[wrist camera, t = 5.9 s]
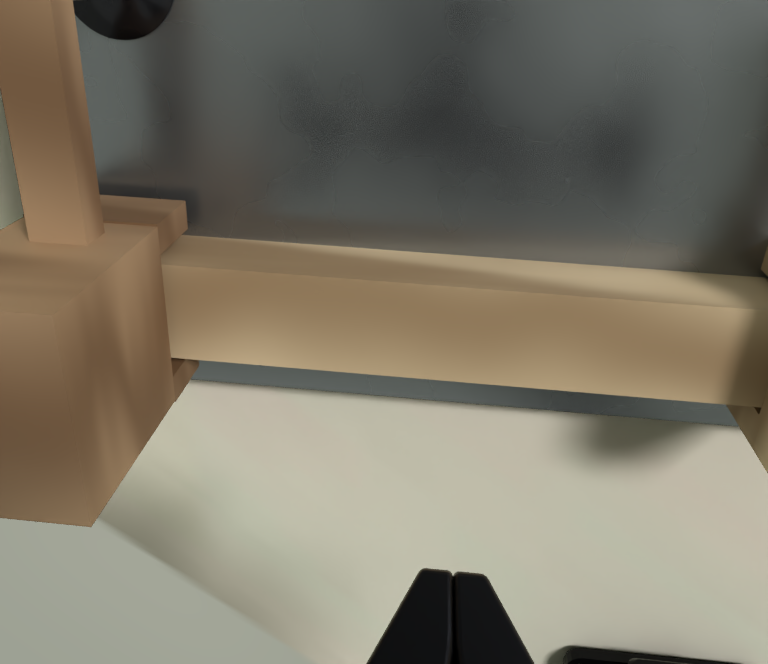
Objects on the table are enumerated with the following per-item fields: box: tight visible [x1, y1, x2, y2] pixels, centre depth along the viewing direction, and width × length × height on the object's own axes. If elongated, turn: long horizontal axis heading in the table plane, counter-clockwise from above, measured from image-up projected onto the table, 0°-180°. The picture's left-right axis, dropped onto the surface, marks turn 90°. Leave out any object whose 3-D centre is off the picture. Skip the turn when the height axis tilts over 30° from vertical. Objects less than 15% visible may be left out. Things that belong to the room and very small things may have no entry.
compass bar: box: [160, 235, 768, 473], centre depth 15 cm, size 10×22×3 cm, turn 88°
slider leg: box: [0, 0, 199, 527], centre depth 14 cm, size 10×3×6 cm, turn 178°
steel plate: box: [73, 0, 768, 426], centre depth 16 cm, size 16×22×1 cm
